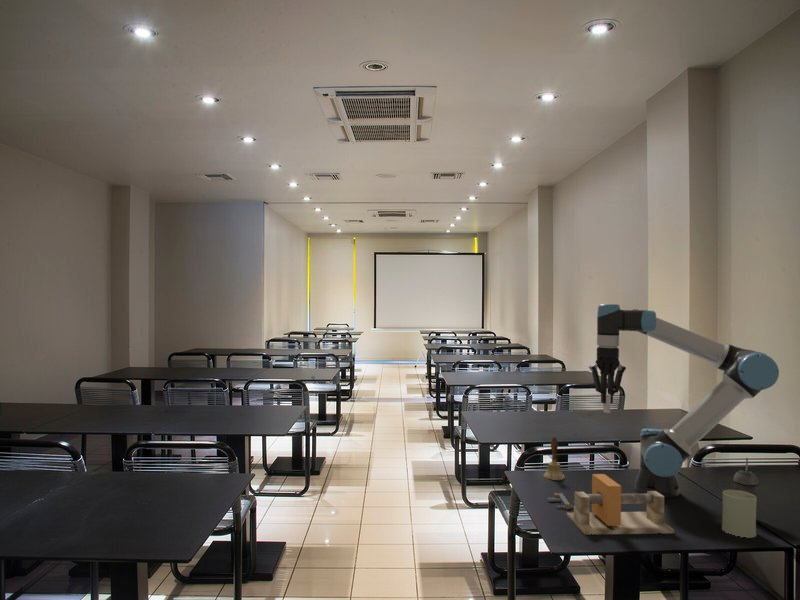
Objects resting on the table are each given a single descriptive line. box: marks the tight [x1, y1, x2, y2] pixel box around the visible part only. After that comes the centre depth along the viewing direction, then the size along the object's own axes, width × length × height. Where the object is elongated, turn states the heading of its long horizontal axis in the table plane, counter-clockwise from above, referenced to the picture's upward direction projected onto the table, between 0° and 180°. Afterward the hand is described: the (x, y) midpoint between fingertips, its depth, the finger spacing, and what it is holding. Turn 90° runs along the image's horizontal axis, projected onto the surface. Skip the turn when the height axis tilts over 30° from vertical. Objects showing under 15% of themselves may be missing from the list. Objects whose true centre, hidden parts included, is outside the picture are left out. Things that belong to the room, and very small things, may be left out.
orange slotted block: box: [591, 473, 622, 526], centre depth 179 cm, size 4×12×12 cm, turn 4°
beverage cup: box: [732, 457, 760, 497], centre depth 187 cm, size 7×7×20 cm
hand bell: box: [543, 436, 566, 481], centre depth 226 cm, size 8×8×16 cm
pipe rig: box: [565, 491, 675, 536], centre depth 179 cm, size 28×15×10 cm, turn 94°
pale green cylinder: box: [721, 489, 757, 539], centre depth 175 cm, size 9×9×12 cm
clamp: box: [547, 492, 574, 510], centre depth 195 cm, size 15×2×10 cm
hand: (606, 412), depth 205 cm, fingers closed
